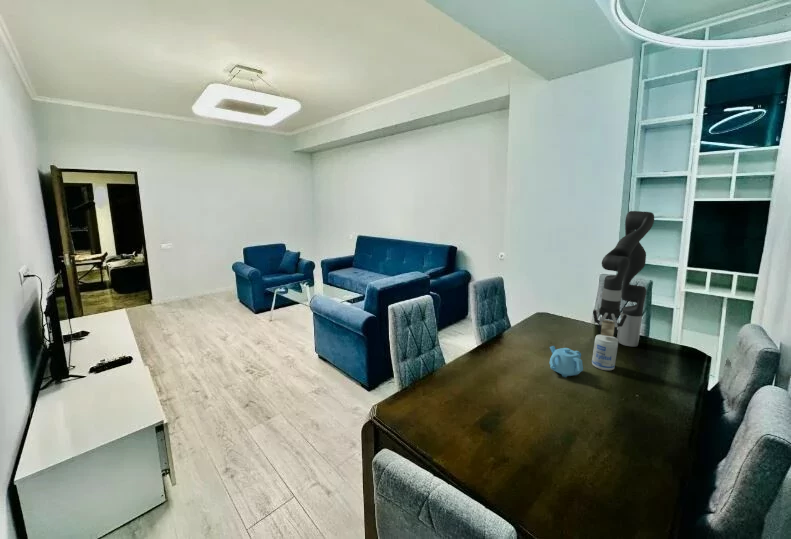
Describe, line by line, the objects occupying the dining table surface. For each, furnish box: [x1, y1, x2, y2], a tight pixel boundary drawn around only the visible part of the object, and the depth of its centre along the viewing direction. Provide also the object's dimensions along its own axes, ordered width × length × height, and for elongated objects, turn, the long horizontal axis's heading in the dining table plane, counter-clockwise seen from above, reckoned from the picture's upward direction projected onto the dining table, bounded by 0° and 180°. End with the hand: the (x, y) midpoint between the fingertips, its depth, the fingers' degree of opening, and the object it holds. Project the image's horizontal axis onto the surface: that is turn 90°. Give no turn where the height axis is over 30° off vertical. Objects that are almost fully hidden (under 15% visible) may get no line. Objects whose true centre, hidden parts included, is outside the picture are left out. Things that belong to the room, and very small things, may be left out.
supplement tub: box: [591, 333, 619, 371], centre depth 165 cm, size 10×10×15 cm
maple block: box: [600, 319, 615, 337], centre depth 163 cm, size 5×5×6 cm
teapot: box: [549, 345, 584, 378], centre depth 161 cm, size 20×17×12 cm
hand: (607, 332), depth 163 cm, fingers closed on maple block, 4 cm apart
